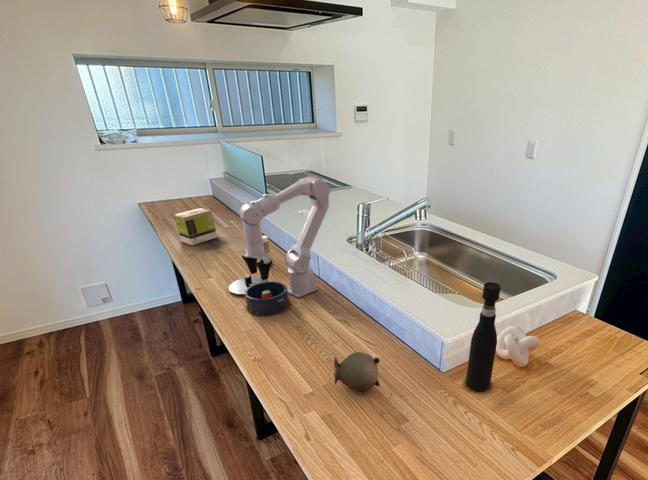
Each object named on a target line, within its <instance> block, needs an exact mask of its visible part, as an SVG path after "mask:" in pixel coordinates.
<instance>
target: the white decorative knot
mask: <svg viewBox="0 0 648 480" xmlns="http://www.w3.org/2000/svg"><path fill="white" fill-rule="evenodd" d="M540 343H541V342H540V339H539V337H538V336H536V335H528V336H527V335H526V333H525V331H524V329H522V328H521V327H520V326H517V325H511V326H507V327H505V328H504V329H503V330H501V331H500V333H499V335H497V346H496V355H498V357H499V358H501V359H502V360H511V361H512V362H513V364H514V365H515V366H517V367H519V368H525V367H526V366H527V365H528V363H529V358H530V353H531V352H533V351H534V350H537V348H538V347H539V346H540Z"/></svg>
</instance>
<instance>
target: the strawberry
mask: <svg viewBox="0 0 648 480" xmlns="http://www.w3.org/2000/svg"><path fill="white" fill-rule="evenodd" d="M272 297H273V295H272V294H271V292H270V291H268V290H266V291H263V292H262V296H261V299H267V298H272Z"/></svg>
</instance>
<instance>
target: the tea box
mask: <svg viewBox="0 0 648 480" xmlns="http://www.w3.org/2000/svg"><path fill="white" fill-rule="evenodd" d="M173 217H174V221H175V224H176V227H177V232H178V235H179V238H180V241H181V242H182V243H183V244H187V245H190V246H195V245H197V244H201V243H204V242H207V241H210V240H213V239H217V238H218V233H217V229H216V226H215V221H214V217H213V213H212V210H210V209H205V208H202V207H198V208H195V209H191V210H187V211H186V210H185V211H183V212H179V213H174V214H173Z"/></svg>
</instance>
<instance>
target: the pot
mask: <svg viewBox="0 0 648 480" xmlns="http://www.w3.org/2000/svg"><path fill="white" fill-rule="evenodd" d="M266 290H268V291H270V292H271V294H272V295H273V297H272V298H267V299H261V296H262V292H263V291H266ZM287 290H288V287H287V285H286V284H284V283H282V282H279V281H269V282H262V283H257V284H256V283H252V284H249V288H247V289H246V291H245V295H244V296H245V302H246V307H247V310H248V312H249V313H250V314H252V315H254V316H259V317H260V316H261V317H262V316H263V317H264V316H267V317H268V316H272V315H277V314H279V313H282V312H284V311H286V310H287V309H288V307H289V305H290V298H289V292H288V291H287Z"/></svg>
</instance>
